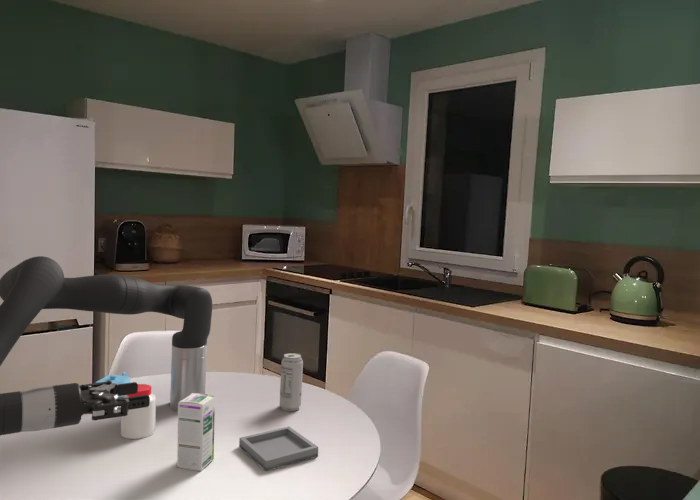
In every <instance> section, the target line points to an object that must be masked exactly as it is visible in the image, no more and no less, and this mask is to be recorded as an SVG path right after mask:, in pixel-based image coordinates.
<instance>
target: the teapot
mask: <svg viewBox="0 0 700 500" xmlns="http://www.w3.org/2000/svg"><path fill="white" fill-rule="evenodd" d="M127 373H128V370H127V371H123V372H122V374H121V375H120V374H108V375H107V376H106V375H105V376H104V377H103V378H101V379H99V380H97V381H95V382H94V383H99V382H106V381H112V383H117V385H118V384H124V383H131V376H128V375H127ZM117 395H118V394H117ZM124 396H125V395H122V396H118V397H124Z"/></svg>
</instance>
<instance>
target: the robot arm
mask: <svg viewBox="0 0 700 500" xmlns="http://www.w3.org/2000/svg"><path fill="white" fill-rule="evenodd" d="M211 295H212V294H211V293H210V291H208V289H205V288H204V287H200V286H193V285H187V284H157V283H152V282H149V281H148V280H146V279H145V280H144V279H141V278H137V277H133V276H127V275H120V274H109V273H107V274H96V275H95V274H94V275H87V276H78V277H65V274H64V271H63V269H62V267H61V266H60V264H59V263H58V262H57V261H56V260H54V259H52V258H51V257H49V256H43V255H42V256H41V255H40V256H38V255H37V256H33V257H29V258H27V259H25V260H23V261H21V262H20V263H18V264H17V265H14V267H11V268H10V269H9V270H8V271H6V272H5V273H4V274H3V275H2V276H1V277H0V299H1V300H2V303H1V304H0V367H1V366H2V365H3V363H4V361H5V360H6V359H7V357H8V355H9V354H10V352H11V351H12V350H13V347H14V346H15V345H16V344H17V342H18V340H19V339H20V338H21V336H22V335H23V334H24V332H25V331H26V330H27V328H28V327H29V325H31V323H32V322H33V321H34V319H35V318H36V316H38V314H40V313H41V311H42V310H55V309H56V310H59V309H60V310H74V311H75V310H76V311H83V312H94V313H106V314H113V315H115V314H116V315H139V314H143V313H144V314H145V313H158V314H161V315H162V314H163V315H167V316H172V317H175V318H178V319H183V325H182V329H181V330H180V331H176V332H175V333H173V335H172V337H171V363H170V364H171V365H170V366H171V368H170V369H171V370H170V395H169V396H170V397H169V407H170V408H171V409H172V410H174V411H178V402H180V401H181V400H183V399H185V398H186V397H188V396H190V394H192V393H198V394H206V379H207V378H206V377H207V357H208V356H207V355H208V354H207V353H208V352H207V349H208V338H209V335H210V333H211V326H212V315H213V299H212V296H211ZM138 384H139V383H137V382H135V381H133V382H130V383H124V384H118V385H117V383H112V381H106V382H99V383H95V382H93V383H86V384H81V385H80V384H79V383H77V382H72V383H64V384H56V385H47V386H39V387H35V388H30V389H26V390H25V389H24V390H21V391H10V392H3V393H0V436H5V435H11V434H12V435H13V434H17V433H25V432H26V433H27V432H39V431H44V430H52V429H56V428H63V427H70V426H75V425H79V423H80V422H81V420H82V417H83V415H88V414H89V415H91V420H92V421H99V420H101V421H102V420H107V419H114V418H121V417H122V416H127V415H128V411H129V410H131V409H138V408H144V407H148V406H149V404H150V397H149V396H148V395H141V396H134V397H129V398H127V397H118V396H122V395H129V394H136V393H137V392H138ZM117 394H118V395H117Z"/></svg>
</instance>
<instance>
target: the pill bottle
mask: <svg viewBox="0 0 700 500" xmlns="http://www.w3.org/2000/svg"><path fill="white" fill-rule="evenodd" d="M137 384H138V392H137V393H136V394H129V395H125V396H124V397H127V398H129V397H134V396H141V395H148V396H149V397H150V404H149V406H148V407H144V408H138V409H131V410H129V411H128V415H127V416H122V417H120V436H122V437H123V438H124V439H129V440H139V439H143V438H145V439H146V438H148V437H150V436H152V435H153V434H154V433H155V432H156V417H157V416H156V415H157V414H156V413H157V412H156V411H157V396H156V395H155V394H154V393H153V392H152V386H151V385H150V384H145V383H137Z"/></svg>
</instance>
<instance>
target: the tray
mask: <svg viewBox="0 0 700 500" xmlns="http://www.w3.org/2000/svg"><path fill="white" fill-rule="evenodd" d="M238 442H239V443H238V445H239V446H238V447H239V448H240V450H242V451H243V452H244V453H245V454H247V456H249V457H250V458H251V459H252V460H253V461H254V462H255V463H256V464H257V465H258V466H259V467H260V468H262V469H263V470H264V471H265V472H268V471H271V470H275V469H279V468H282V467H285V466H289V465H292V464H296V463H299V462H303V461H306V460H311V459H313V458H317V457H319V446H318V445H316V444H315V443H313V442H312V441H310V440H309V439H308V438H306V437H305V436H304V435H302V434H300V433H299V432H298V431H297V430H295V429H293V428H292V427H290V426H284V427H281V428H277V429H271V430H268V431H263V432H258V433H255V434H254V433H253V434H250V435H246V436H242V437H239V441H238Z"/></svg>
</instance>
